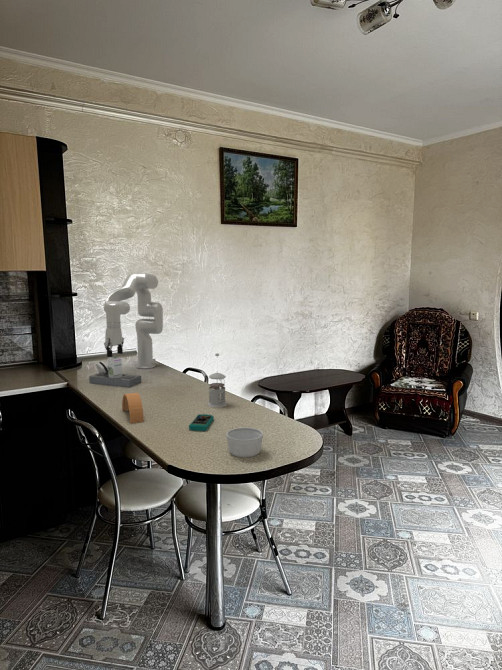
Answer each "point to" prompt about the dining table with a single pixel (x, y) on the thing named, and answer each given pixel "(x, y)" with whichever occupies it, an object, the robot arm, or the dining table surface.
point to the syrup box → (114, 367)
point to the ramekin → (244, 441)
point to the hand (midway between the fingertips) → (115, 355)
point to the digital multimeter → (201, 422)
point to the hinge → (102, 367)
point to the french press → (217, 391)
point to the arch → (133, 407)
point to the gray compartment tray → (115, 380)
